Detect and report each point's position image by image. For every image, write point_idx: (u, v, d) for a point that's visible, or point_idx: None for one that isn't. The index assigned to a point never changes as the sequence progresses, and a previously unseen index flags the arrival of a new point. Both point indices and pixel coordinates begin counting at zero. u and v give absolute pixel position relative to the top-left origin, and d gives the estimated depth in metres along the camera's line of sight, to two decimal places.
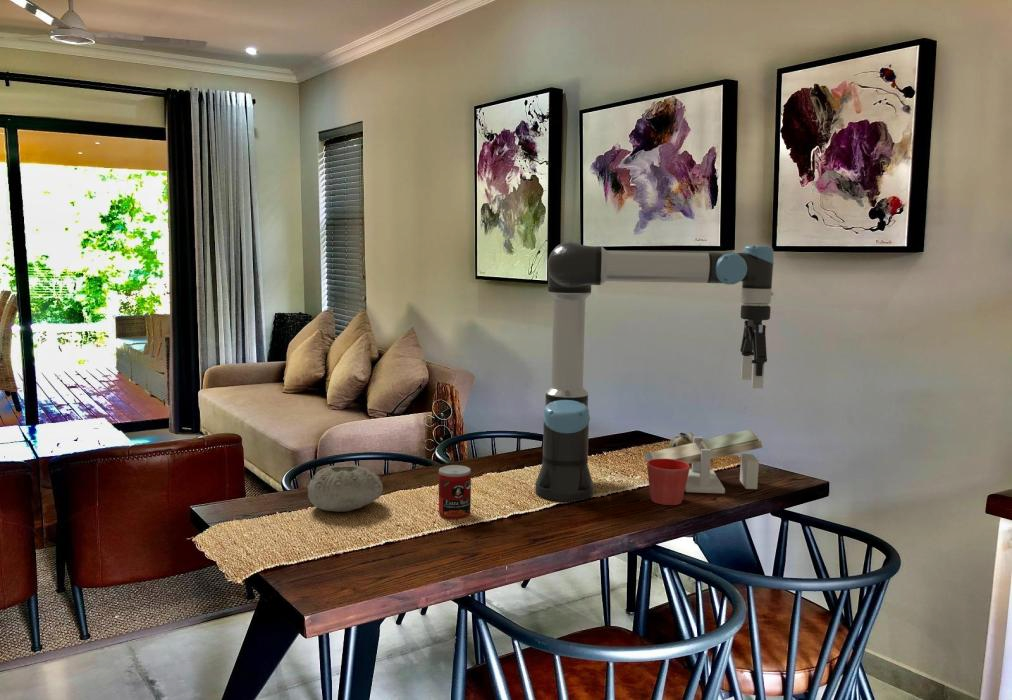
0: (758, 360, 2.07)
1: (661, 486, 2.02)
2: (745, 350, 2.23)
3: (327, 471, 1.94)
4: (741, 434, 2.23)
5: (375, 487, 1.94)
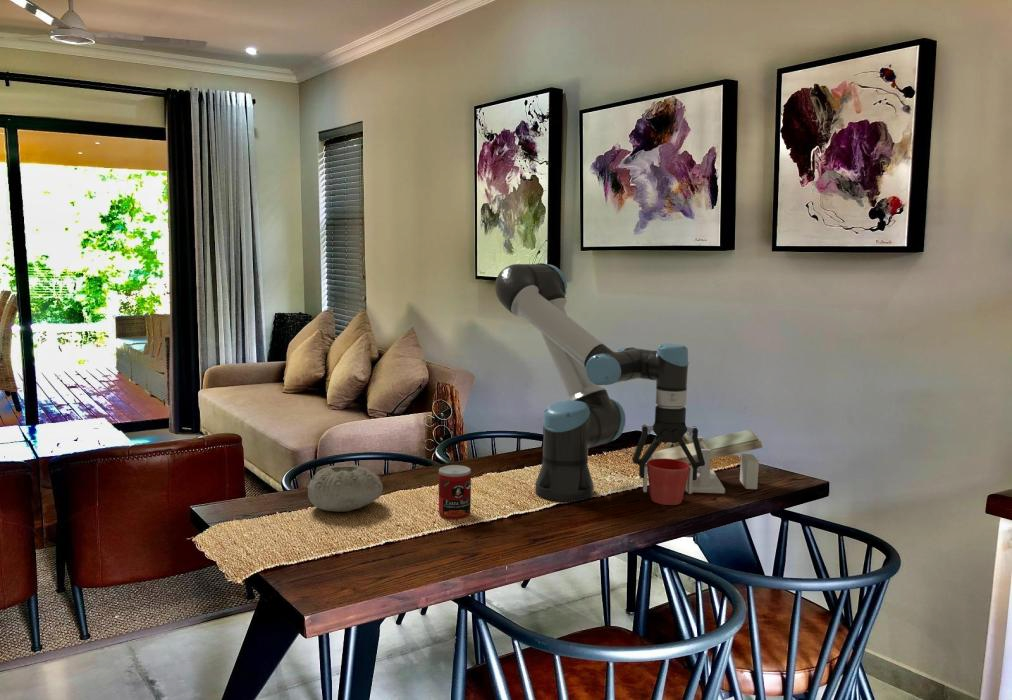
0: (632, 459, 2.07)
1: (661, 486, 2.02)
2: None
3: (327, 471, 1.94)
4: (741, 434, 2.23)
5: (375, 487, 1.94)
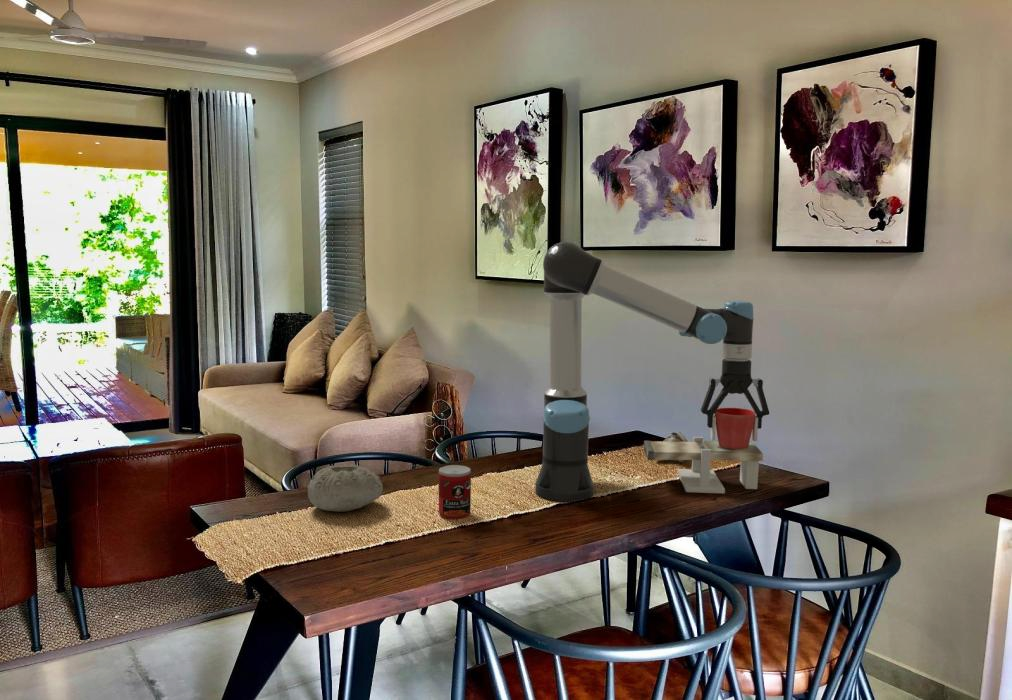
0: (701, 410, 2.21)
1: (729, 431, 2.16)
2: (753, 409, 2.20)
3: (327, 471, 1.94)
4: None
5: (375, 487, 1.94)
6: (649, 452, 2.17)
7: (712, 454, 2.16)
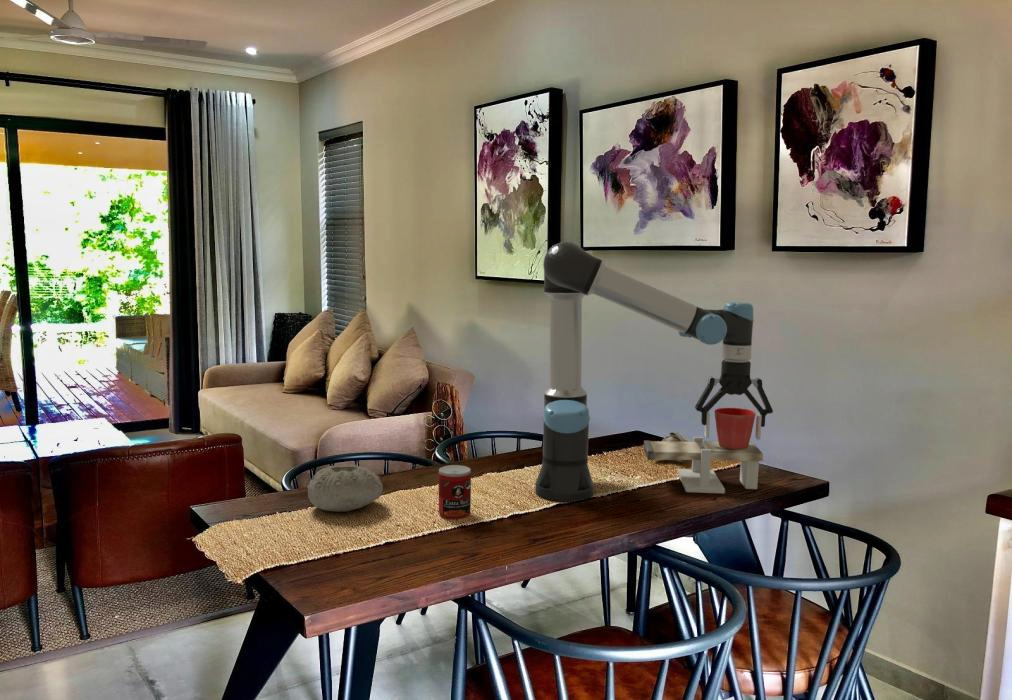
0: (695, 407, 2.21)
1: (729, 431, 2.16)
2: (756, 408, 2.20)
3: (327, 471, 1.94)
4: None
5: (375, 487, 1.94)
6: (649, 452, 2.17)
7: (712, 454, 2.16)
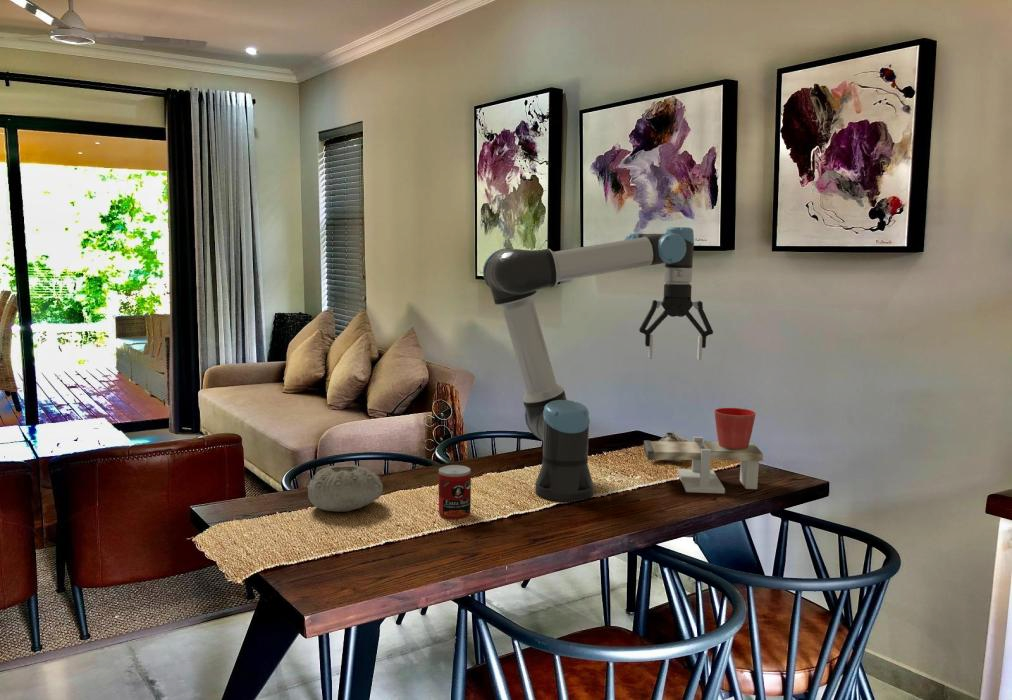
0: (639, 330, 2.30)
1: (729, 431, 2.16)
2: None
3: (327, 471, 1.94)
4: None
5: (375, 487, 1.94)
6: (649, 452, 2.17)
7: (712, 454, 2.16)
